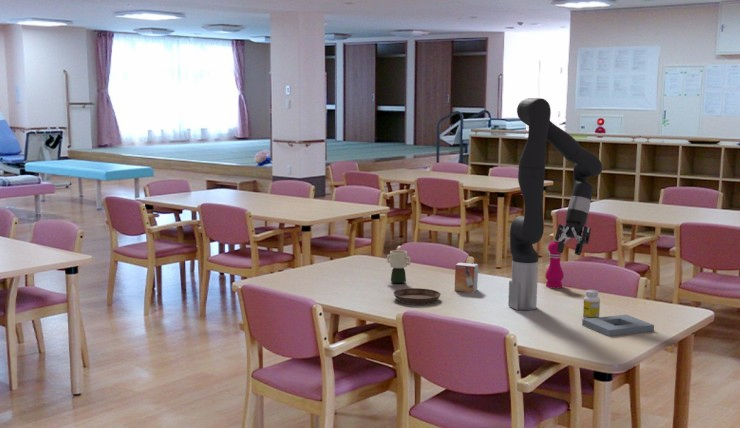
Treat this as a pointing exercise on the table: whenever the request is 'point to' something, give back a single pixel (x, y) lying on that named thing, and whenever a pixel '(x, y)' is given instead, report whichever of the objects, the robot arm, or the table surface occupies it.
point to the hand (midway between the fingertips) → (568, 253)
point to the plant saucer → (417, 296)
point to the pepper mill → (554, 267)
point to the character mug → (398, 265)
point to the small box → (466, 277)
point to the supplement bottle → (591, 304)
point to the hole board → (626, 325)
